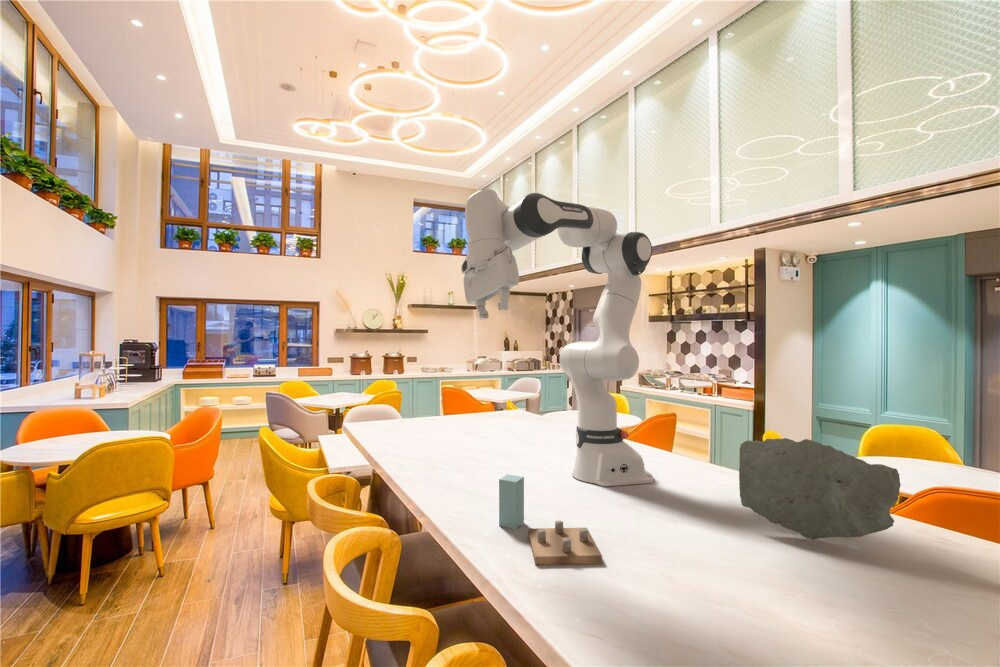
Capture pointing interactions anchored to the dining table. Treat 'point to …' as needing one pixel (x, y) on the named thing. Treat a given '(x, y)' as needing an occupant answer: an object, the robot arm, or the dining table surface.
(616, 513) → the dining table surface
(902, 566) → the dining table surface
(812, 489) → the rock
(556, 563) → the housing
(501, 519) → the block
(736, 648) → the dining table surface
